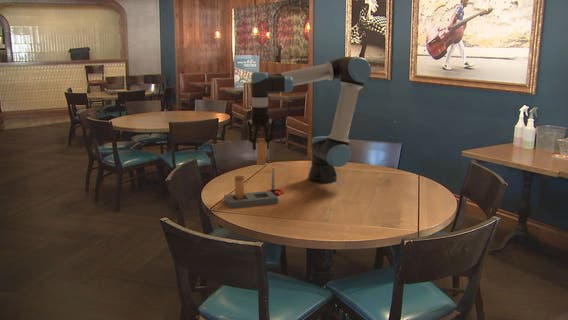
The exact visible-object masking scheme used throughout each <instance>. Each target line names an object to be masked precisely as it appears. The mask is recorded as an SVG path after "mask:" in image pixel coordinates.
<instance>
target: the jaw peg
mask: <svg viewBox="0 0 568 320" xmlns="http://www.w3.org/2000/svg"><path fill="white" fill-rule="evenodd" d="M256 143H258V157H256V165H257V166H265V165H266V156H265V138H263V137H261V138H260V137H259V138H257V139H256Z"/></svg>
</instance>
